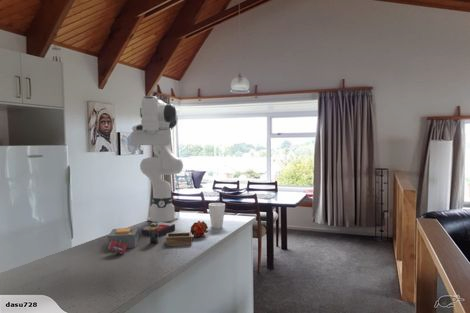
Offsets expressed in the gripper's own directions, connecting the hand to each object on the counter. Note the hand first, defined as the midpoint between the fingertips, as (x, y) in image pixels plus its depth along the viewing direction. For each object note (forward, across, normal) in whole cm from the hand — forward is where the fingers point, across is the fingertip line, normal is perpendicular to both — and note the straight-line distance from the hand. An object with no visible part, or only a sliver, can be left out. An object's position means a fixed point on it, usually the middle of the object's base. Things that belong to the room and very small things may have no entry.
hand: (150, 154), depth 177 cm
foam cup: (+42, -38, -3) cm, 57 cm away
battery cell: (+43, +1, +13) cm, 45 cm away
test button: (+39, +15, +9) cm, 42 cm away
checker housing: (+43, +15, +9) cm, 46 cm away
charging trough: (+43, -10, +18) cm, 47 cm away
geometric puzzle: (+43, +19, +23) cm, 52 cm away
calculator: (+43, -5, -5) cm, 43 cm away
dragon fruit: (+43, -22, +11) cm, 49 cm away
